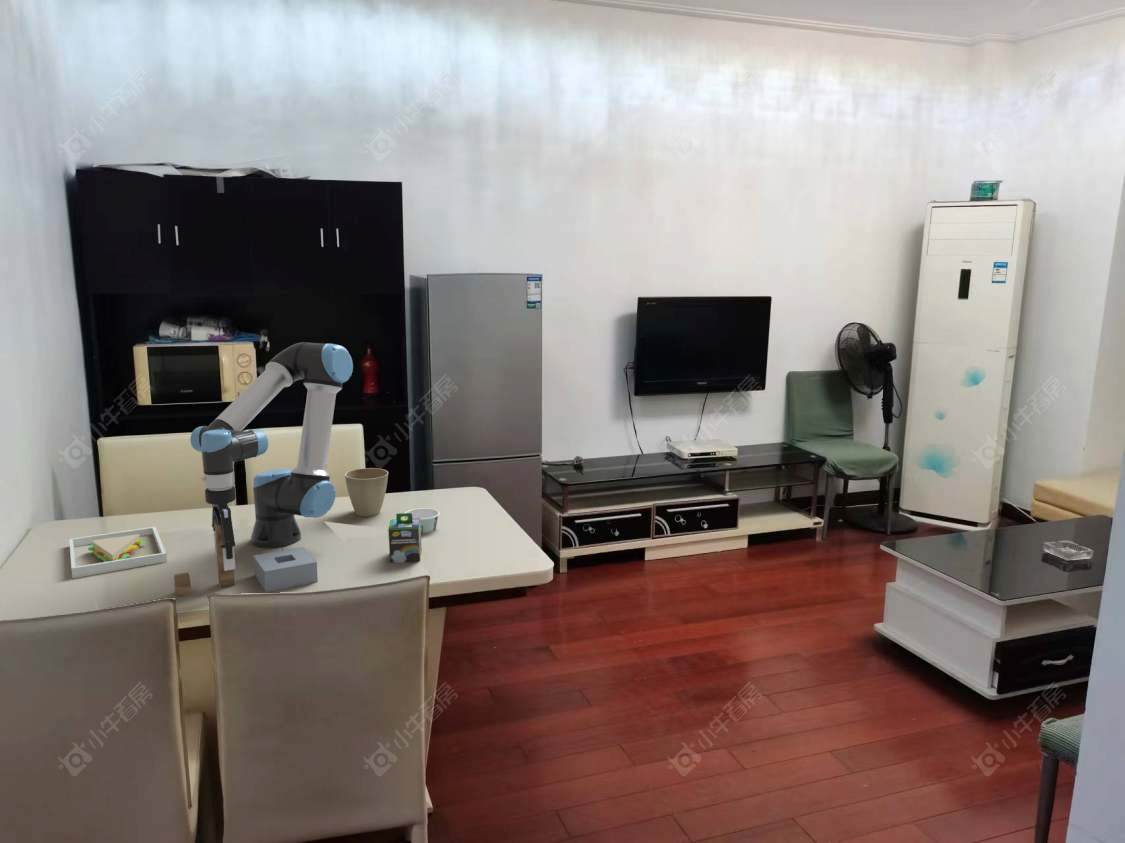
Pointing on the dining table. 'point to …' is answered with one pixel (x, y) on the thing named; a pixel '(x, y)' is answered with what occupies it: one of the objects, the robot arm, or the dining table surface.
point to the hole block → (285, 569)
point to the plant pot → (366, 490)
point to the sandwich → (115, 547)
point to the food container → (425, 518)
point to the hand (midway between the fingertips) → (225, 561)
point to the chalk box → (405, 539)
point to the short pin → (182, 584)
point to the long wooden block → (222, 562)
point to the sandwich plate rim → (117, 564)
